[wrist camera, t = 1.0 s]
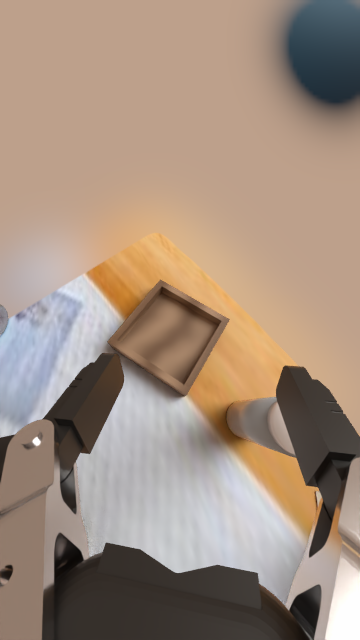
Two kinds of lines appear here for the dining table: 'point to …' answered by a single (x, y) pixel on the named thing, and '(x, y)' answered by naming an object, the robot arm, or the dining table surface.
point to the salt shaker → (260, 424)
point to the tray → (170, 336)
